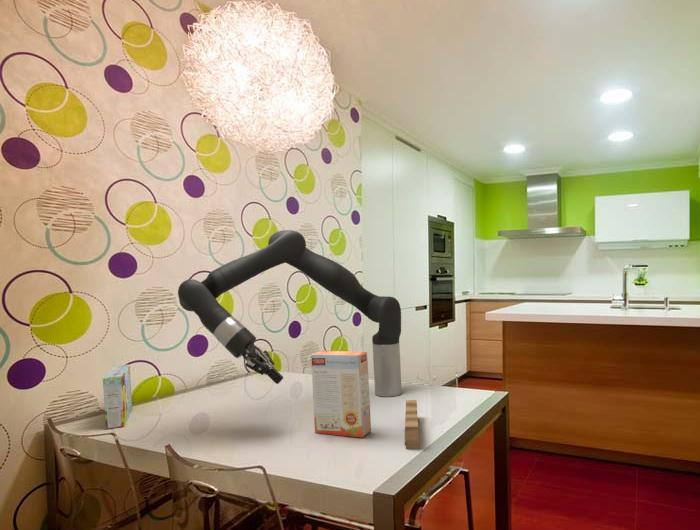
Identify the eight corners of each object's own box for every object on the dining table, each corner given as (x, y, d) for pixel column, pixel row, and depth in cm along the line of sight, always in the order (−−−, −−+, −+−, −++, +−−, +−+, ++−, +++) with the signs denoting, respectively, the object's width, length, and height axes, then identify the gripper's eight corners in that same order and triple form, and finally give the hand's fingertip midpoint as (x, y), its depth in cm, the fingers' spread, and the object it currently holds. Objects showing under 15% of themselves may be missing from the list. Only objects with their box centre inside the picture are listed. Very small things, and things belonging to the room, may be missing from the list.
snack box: (114, 411, 155) (112, 365, 156) (132, 409, 157) (131, 363, 158) (103, 430, 135) (102, 377, 136) (125, 427, 137) (123, 375, 138)
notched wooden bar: (405, 417, 133) (404, 400, 133) (417, 417, 133) (416, 399, 133) (404, 448, 109) (403, 427, 110) (419, 448, 109) (418, 427, 109)
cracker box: (372, 431, 123) (368, 350, 124) (362, 439, 118) (358, 354, 118) (325, 426, 129) (321, 349, 130) (313, 433, 124) (310, 353, 124)
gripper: (234, 329, 121) (283, 376, 119) (251, 323, 134) (295, 366, 132) (215, 350, 122) (263, 397, 120) (234, 343, 135) (278, 385, 133)
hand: (280, 381), depth 126 cm, fingers closed
